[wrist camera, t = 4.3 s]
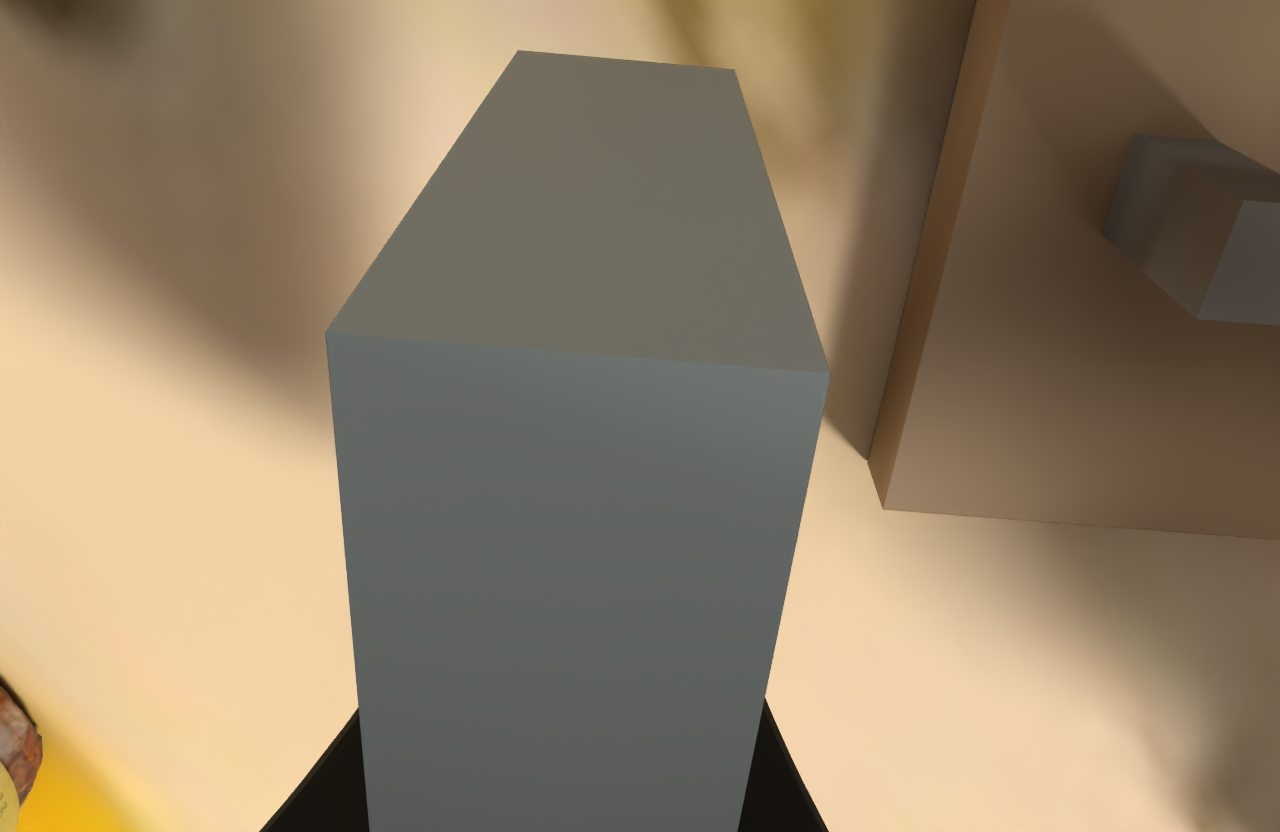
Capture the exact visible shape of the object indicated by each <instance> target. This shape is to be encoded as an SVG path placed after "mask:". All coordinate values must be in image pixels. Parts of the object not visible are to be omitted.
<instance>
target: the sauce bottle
mask: <svg viewBox="0 0 1280 832" xmlns="http://www.w3.org/2000/svg"><path fill="white" fill-rule="evenodd" d="M42 757H43V754H42V737H41V736H40V735H39V734H38V733H37V732H36V730H35V728H34V727H33V724H32V723H31V722H30V721H29V719H28V717H27V716H26V715H25V714H24V712H23V711H22V710H21V709H20V708H19V707H18V706H17V705H16V704H15V703H14V701H13V700H12V698H11V697H10V695H9V694H8V693H7V692H6V691H5V690H4V688H2V687H1V686H0V832H15V830H16V827H17V824H18V820H19V812H20V808H21V806H22V804H23V803H24V801H25V800H26V798H27V795H28V793H29V792H30V791H31V789H32V787H33V783H34V780H35V778H36V775H37V771H38V769H39V767H40V765H41V761H42Z"/></svg>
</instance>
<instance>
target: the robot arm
mask: <svg viewBox="0 0 1280 832" xmlns="http://www.w3.org/2000/svg"><path fill="white" fill-rule="evenodd" d="M259 832H370V829H369V818H368V807H367V795H366V784H365V773H364V762H363V750H362V739H361V728H360V716H359V707H358V709H357V710H356V711H355V713H354V714H353V715H352V717H351V718H350V720H349V721H348V722H347V724H346V725H345V726H344V728H343V729H342V730H341V732H340V733H339V734H338V735H337V737H336V738H335V739H334V741H333V742H332V743H331V744H330V746H329V747H328V748H327V750H326V751H325V752H324V753H323V755H322V756H321V757H320V759H319V760H318V761H317V762H316V764H315V765H314V766H313V768H312V769H311V770H310V771H309V773H308V774H307V775H306V777H305V778H304V779H303V780H302V782H301V783H300V784H299V785H298V787H297V788H296V789H295V790H294V792H293V793H292V794H291V795H290V796H289V798H288V799H287V800H286V801H285V802H284V804H283V805H282V806H281V807H280V808H279V809H278V811H277V812H276V813H275V814H274V815H273V816H272V817H271V819H270V820H269V821H268V822H267V823H266V824H265V826H264V827H263V828H262V829H261V830H260V831H259ZM737 832H829V831H828V829H827V827H826V825H825V823H824V821H823V820H822V818H821V816H820V814H819V812H818V810H817V808H816V806H815V804H814V802H813V800H812V798H811V796H810V794H809V792H808V790H807V789H806V787H805V785H804V783H803V781H802V779H801V777H800V774H799V772H798V770H797V768H796V766H795V764H794V762H793V760H792V758H791V756H790V754H789V751H788V749H787V747H786V745H785V742H784V740H783V738H782V736H781V734H780V731H779V729H778V727H777V725H776V722H775V720H774V718H773V715H772V713H771V711H770V708H769V706H768V703H767V701H766V699H765V698H764V703H763V708H762V713H761V718H760V723H759V728H758V733H757V738H756V743H755V747H754V752H753V757H752V762H751V767H750V772H749V777H748V782H747V787H746V792H745V796H744V801H743V806H742V811H741V816H740V821H739V826H738V831H737Z"/></svg>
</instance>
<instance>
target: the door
mask: <svg viewBox="0 0 1280 832" xmlns="http://www.w3.org/2000/svg"><path fill="white" fill-rule="evenodd" d="M325 333H326V344H327V355H328V367H329V378H330V389H331V400H332V412H333V423H334V434H335V446H336V457H337V468H338V479H339V491H340V502H341V513H342V525H343V536H344V547H345V558H346V570H347V581H348V592H349V604H350V615H351V626H352V637H353V649H354V660H355V671H356V683H357V694H358V705H359V716H360V728H361V739H362V750H363V762H364V773H365V784H366V795H367V807H368V818H369V829H370V832H737V831H738V826H739V821H740V816H741V811H742V806H743V801H744V796H745V792H746V787H747V782H748V777H749V772H750V767H751V762H752V757H753V752H754V747H755V743H756V738H757V733H758V728H759V723H760V718H761V713H762V708H763V703H764V698H765V694H766V689H767V684H768V679H769V674H770V669H771V664H772V659H773V654H774V649H775V645H776V640H777V635H778V630H779V625H780V620H781V615H782V610H783V605H784V600H785V596H786V591H787V586H788V581H789V576H790V571H791V566H792V561H793V556H794V551H795V547H796V542H797V537H798V532H799V527H800V522H801V517H802V512H803V507H804V502H805V498H806V493H807V488H808V483H809V478H810V473H811V468H812V463H813V458H814V453H815V449H816V444H817V439H818V434H819V429H820V424H821V419H822V414H823V409H824V404H825V400H826V395H827V390H828V385H829V380H830V375H831V373H830V370H829V367H828V363H827V360H826V357H825V354H824V351H823V348H822V344H821V341H820V338H819V335H818V332H817V329H816V326H815V322H814V319H813V316H812V313H811V310H810V307H809V303H808V300H807V297H806V294H805V291H804V288H803V285H802V281H801V278H800V275H799V272H798V269H797V266H796V262H795V259H794V256H793V253H792V250H791V247H790V243H789V240H788V237H787V234H786V231H785V228H784V225H783V221H782V218H781V215H780V212H779V209H778V206H777V202H776V199H775V196H774V193H773V190H772V187H771V184H770V180H769V177H768V174H767V171H766V168H765V165H764V161H763V158H762V155H761V152H760V149H759V146H758V143H757V139H756V136H755V133H754V130H753V127H752V124H751V120H750V117H749V114H748V111H747V108H746V105H745V102H744V98H743V95H742V92H741V89H740V86H739V83H738V79H737V76H736V73H735V70H733V69H722V68H711V67H700V66H689V65H677V64H666V63H655V62H644V61H633V60H622V59H610V58H599V57H588V56H577V55H566V54H554V53H543V52H532V51H521V50H518V51H517V52H516V54H515V55H514V57H513V58H512V60H511V61H510V63H509V64H508V66H507V67H506V69H505V70H504V72H503V73H502V74H501V76H500V77H499V79H498V80H497V82H496V83H495V85H494V86H493V88H492V89H491V91H490V92H489V94H488V95H487V96H486V98H485V99H484V101H483V102H482V104H481V105H480V107H479V108H478V110H477V111H476V113H475V114H474V115H473V117H472V118H471V120H470V121H469V123H468V124H467V126H466V127H465V129H464V130H463V132H462V133H461V135H460V136H459V137H458V139H457V140H456V142H455V143H454V145H453V146H452V148H451V149H450V151H449V152H448V154H447V155H446V157H445V158H444V159H443V161H442V162H441V164H440V165H439V167H438V168H437V170H436V171H435V173H434V174H433V176H432V177H431V178H430V180H429V181H428V183H427V184H426V186H425V187H424V189H423V190H422V192H421V193H420V195H419V196H418V198H417V199H416V200H415V202H414V203H413V205H412V206H411V208H410V209H409V211H408V212H407V214H406V215H405V217H404V218H403V220H402V221H401V222H400V224H399V225H398V227H397V228H396V230H395V231H394V233H393V234H392V236H391V237H390V239H389V240H388V241H387V243H386V244H385V246H384V247H383V249H382V250H381V252H380V253H379V255H378V256H377V258H376V259H375V261H374V262H373V263H372V265H371V266H370V268H369V269H368V271H367V272H366V274H365V275H364V277H363V278H362V280H361V281H360V283H359V284H358V285H357V287H356V288H355V290H354V291H353V293H352V294H351V296H350V297H349V299H348V300H347V302H346V303H345V304H344V306H343V307H342V309H341V310H340V312H339V313H338V315H337V316H336V318H335V319H334V321H333V322H332V324H331V325H330V326H329V328H328V329H327V331H326V332H325Z"/></svg>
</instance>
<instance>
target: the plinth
mask: <svg viewBox="0 0 1280 832" xmlns="http://www.w3.org/2000/svg"><path fill="white" fill-rule="evenodd" d="M868 466H869V469H870V472H871V475H872V478H873V481H874V484H875V487H876V490H877V493H878V496H879V499H880V502H881V505H882V508H883V510H895V511H909V512H922V513H935V514H948V515H961V516H974V517H987V518H1000V519H1013V520H1026V521H1039V522H1052V523H1065V524H1078V525H1091V526H1104V527H1117V528H1130V529H1143V530H1156V531H1169V532H1182V533H1195V534H1208V535H1221V536H1234V537H1247V538H1260V539H1273V540H1280V0H977V1H976V5H975V9H974V13H973V18H972V22H971V26H970V30H969V35H968V39H967V43H966V47H965V52H964V56H963V60H962V64H961V69H960V73H959V77H958V81H957V86H956V90H955V94H954V98H953V103H952V107H951V111H950V115H949V119H948V124H947V128H946V132H945V136H944V141H943V145H942V149H941V153H940V158H939V162H938V166H937V170H936V175H935V179H934V183H933V187H932V192H931V196H930V200H929V204H928V209H927V213H926V217H925V221H924V225H923V230H922V234H921V238H920V242H919V247H918V251H917V255H916V259H915V264H914V268H913V272H912V276H911V281H910V285H909V289H908V293H907V298H906V302H905V306H904V310H903V314H902V319H901V323H900V327H899V331H898V336H897V340H896V344H895V348H894V353H893V357H892V361H891V365H890V370H889V374H888V378H887V382H886V387H885V391H884V395H883V399H882V404H881V408H880V412H879V416H878V420H877V425H876V429H875V433H874V437H873V442H872V446H871V450H870V454H869V459H868Z"/></svg>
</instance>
